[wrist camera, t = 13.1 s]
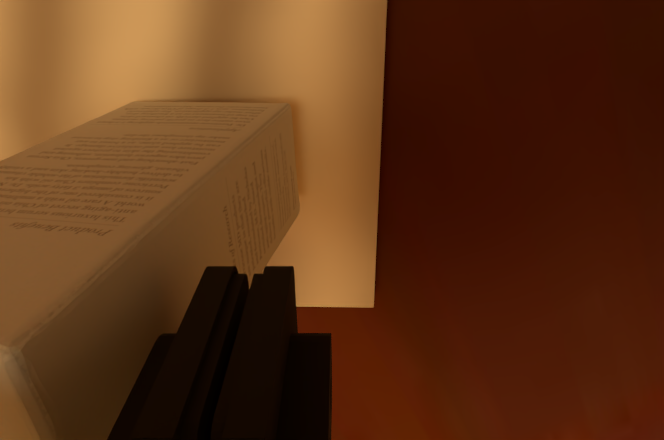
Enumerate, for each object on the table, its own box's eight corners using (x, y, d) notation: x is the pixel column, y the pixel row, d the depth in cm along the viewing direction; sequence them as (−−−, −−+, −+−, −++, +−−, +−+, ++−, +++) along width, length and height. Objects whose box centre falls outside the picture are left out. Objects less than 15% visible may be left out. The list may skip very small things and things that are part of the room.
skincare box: (159, 206, 20) (-184, 480, 9) (134, 98, 18) (-333, 293, 7) (307, 216, 18) (94, 552, 8) (297, 99, 16) (-1, 344, 6)
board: (387, -62, 16) (397, -69, 13) (372, 291, 23) (376, 344, 19) (-325, -59, 17) (-481, -64, 14) (-144, 285, 23) (-222, 336, 20)
